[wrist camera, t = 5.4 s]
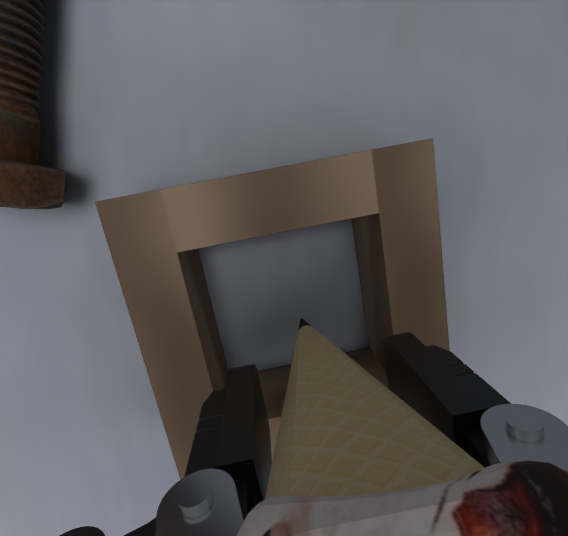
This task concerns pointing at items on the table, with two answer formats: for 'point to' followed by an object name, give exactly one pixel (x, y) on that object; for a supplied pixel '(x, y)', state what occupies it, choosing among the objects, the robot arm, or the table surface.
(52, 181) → the bolt
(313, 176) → the wooden square frame
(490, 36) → the table surface
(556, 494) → the ice cream cone
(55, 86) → the table surface
